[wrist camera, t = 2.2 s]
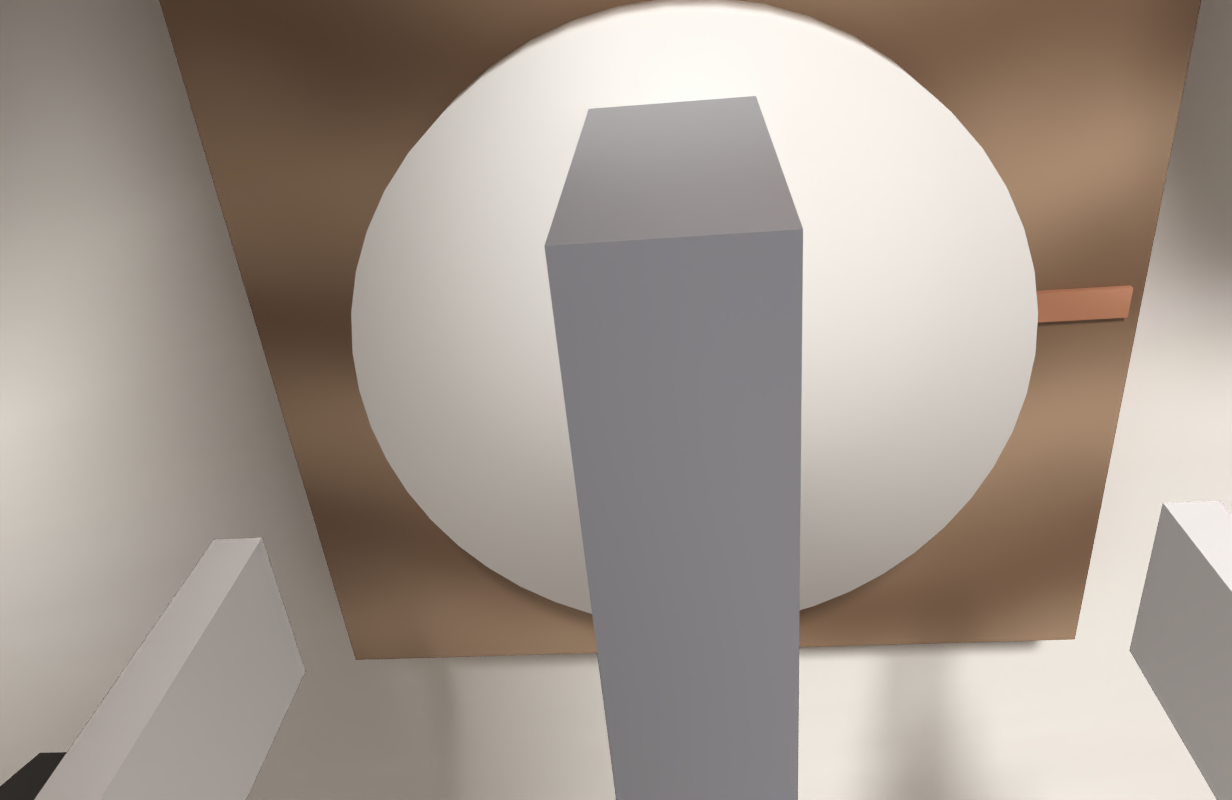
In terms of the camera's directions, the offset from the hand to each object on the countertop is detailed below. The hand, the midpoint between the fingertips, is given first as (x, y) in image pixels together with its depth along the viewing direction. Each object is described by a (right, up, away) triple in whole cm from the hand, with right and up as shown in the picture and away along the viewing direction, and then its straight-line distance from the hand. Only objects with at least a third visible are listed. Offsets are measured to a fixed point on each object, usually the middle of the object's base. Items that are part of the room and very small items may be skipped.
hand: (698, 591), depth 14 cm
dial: (0, +4, +7) cm, 9 cm away
